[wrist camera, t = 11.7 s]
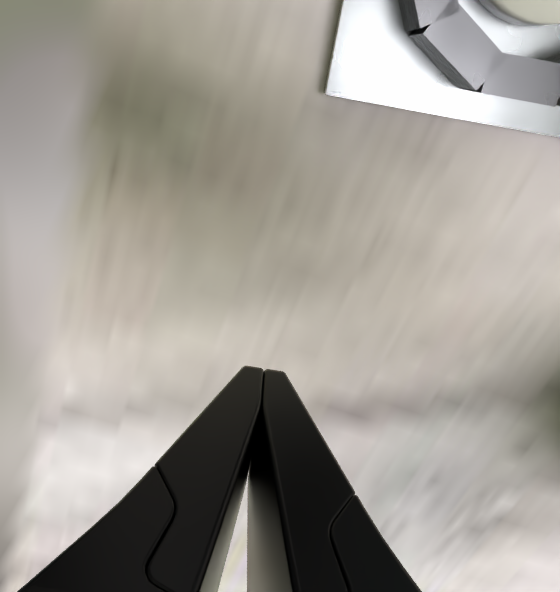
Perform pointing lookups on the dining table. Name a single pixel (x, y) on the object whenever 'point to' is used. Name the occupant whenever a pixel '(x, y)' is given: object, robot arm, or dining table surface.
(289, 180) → the dining table surface
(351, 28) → the square ring flange
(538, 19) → the cap
